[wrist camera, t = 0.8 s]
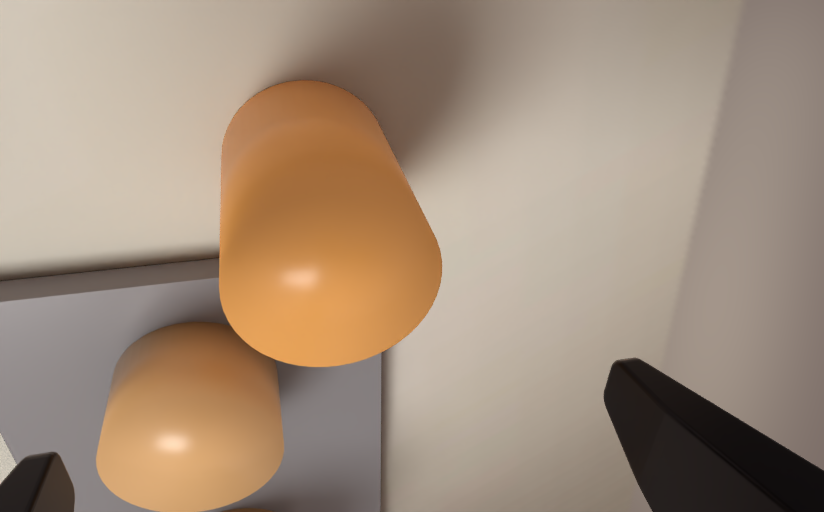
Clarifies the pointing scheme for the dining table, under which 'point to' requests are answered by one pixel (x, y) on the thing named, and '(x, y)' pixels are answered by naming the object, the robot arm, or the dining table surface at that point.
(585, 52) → the dining table surface
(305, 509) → the junction plate
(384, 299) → the orange capsule
